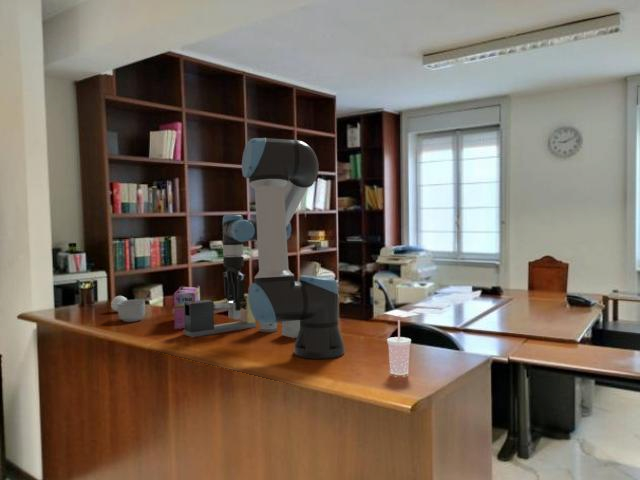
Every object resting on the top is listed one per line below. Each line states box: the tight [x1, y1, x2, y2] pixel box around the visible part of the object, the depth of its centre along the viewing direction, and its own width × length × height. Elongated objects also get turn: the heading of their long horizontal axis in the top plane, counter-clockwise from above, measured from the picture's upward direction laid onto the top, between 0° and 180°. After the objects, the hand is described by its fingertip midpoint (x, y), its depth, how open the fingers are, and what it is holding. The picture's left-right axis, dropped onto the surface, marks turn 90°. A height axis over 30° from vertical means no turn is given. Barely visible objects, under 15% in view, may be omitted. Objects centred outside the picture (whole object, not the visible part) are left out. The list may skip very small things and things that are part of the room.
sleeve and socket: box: [184, 293, 256, 332], centre depth 189 cm, size 26×6×10 cm, turn 129°
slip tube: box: [214, 299, 246, 312], centre depth 191 cm, size 17×3×3 cm, turn 129°
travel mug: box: [259, 323, 278, 334], centre depth 187 cm, size 6×7×20 cm
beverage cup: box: [386, 319, 412, 375], centre depth 133 cm, size 6×6×14 cm
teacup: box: [117, 298, 146, 323], centre depth 212 cm, size 14×11×8 cm
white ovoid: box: [110, 295, 128, 313], centre depth 230 cm, size 10×7×7 cm
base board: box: [183, 321, 257, 338], centre depth 189 cm, size 26×7×2 cm, turn 129°
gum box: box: [173, 285, 201, 330], centre depth 205 cm, size 24×8×14 cm, turn 8°
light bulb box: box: [281, 320, 300, 339], centre depth 181 cm, size 11×7×11 cm, turn 135°
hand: (234, 318), depth 193 cm, fingers closed on slip tube, 3 cm apart
